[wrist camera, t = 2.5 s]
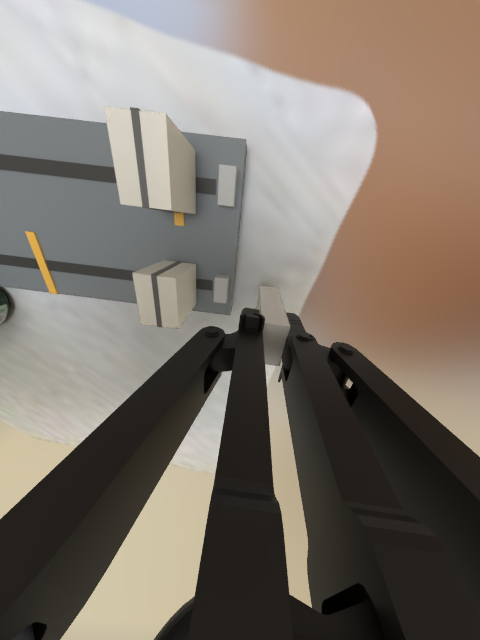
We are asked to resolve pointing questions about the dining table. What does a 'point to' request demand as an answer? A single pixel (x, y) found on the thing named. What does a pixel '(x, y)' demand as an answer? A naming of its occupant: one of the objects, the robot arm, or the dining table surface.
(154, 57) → the dining table surface
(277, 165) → the dining table surface
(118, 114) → the fader
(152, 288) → the fader
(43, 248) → the console
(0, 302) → the coffee jar
